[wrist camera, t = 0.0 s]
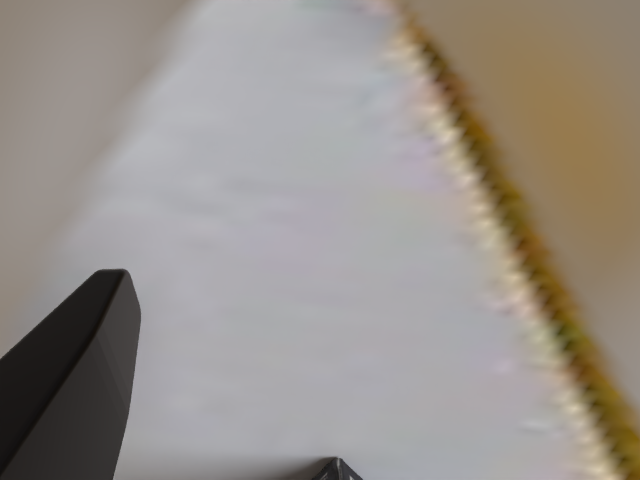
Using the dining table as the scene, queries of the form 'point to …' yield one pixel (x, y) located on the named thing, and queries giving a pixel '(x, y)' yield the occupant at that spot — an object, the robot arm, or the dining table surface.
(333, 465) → the small box
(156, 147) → the dining table surface
